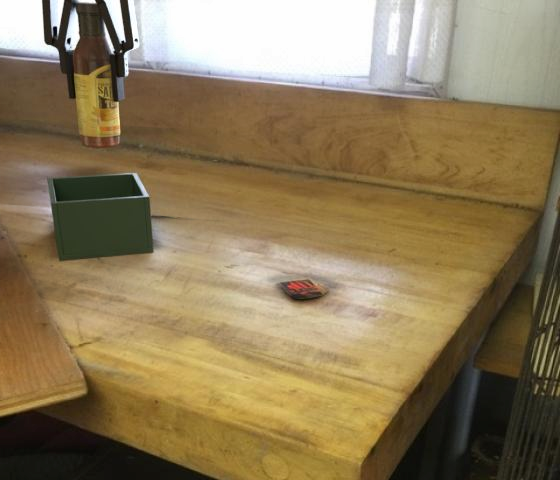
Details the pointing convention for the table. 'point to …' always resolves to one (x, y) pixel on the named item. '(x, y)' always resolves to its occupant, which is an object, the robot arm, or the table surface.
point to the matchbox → (303, 288)
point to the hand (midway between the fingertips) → (97, 98)
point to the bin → (100, 215)
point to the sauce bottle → (94, 81)
